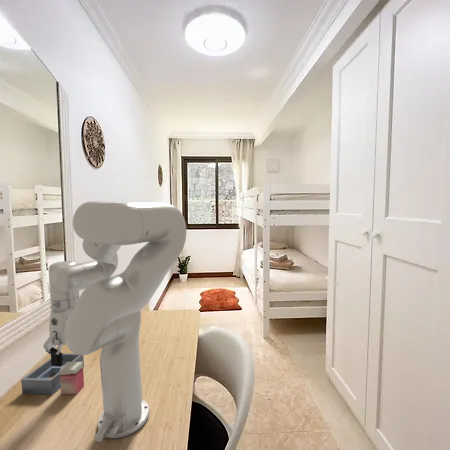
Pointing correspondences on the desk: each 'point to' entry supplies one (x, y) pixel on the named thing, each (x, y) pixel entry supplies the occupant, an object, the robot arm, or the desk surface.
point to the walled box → (39, 377)
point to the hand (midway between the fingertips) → (68, 356)
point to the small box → (71, 378)
